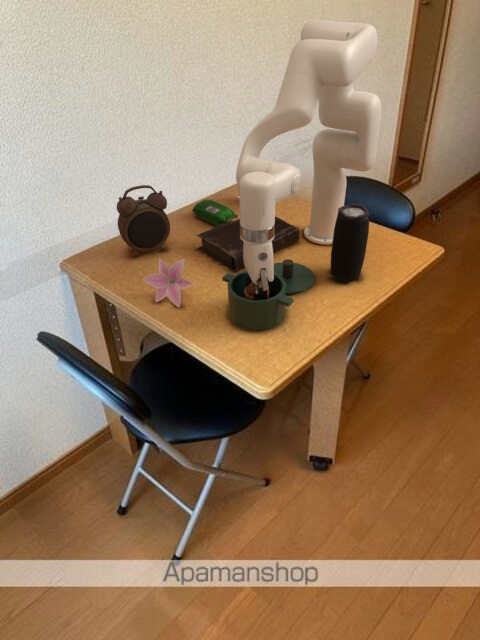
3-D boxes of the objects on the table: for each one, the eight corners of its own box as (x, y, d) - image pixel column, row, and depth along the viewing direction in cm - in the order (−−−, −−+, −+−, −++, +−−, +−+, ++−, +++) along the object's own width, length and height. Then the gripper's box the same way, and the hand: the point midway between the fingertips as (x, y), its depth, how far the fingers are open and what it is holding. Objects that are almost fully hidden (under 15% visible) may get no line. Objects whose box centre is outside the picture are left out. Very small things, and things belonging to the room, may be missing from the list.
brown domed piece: (262, 289, 123) (262, 273, 120) (273, 302, 118) (273, 286, 115) (240, 295, 121) (239, 279, 118) (250, 309, 116) (250, 292, 113)
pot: (241, 288, 131) (241, 260, 126) (304, 313, 122) (306, 284, 117) (209, 313, 123) (207, 285, 117) (273, 342, 114) (274, 313, 108)
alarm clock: (127, 262, 142) (115, 197, 130) (121, 250, 147) (109, 186, 135) (175, 251, 147) (168, 187, 134) (168, 240, 152) (160, 177, 139)
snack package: (223, 231, 156) (223, 216, 152) (190, 216, 164) (189, 201, 161) (239, 224, 160) (239, 209, 156) (206, 209, 168) (205, 195, 165)
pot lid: (278, 260, 142) (279, 242, 138) (324, 276, 135) (326, 258, 131) (249, 283, 133) (249, 265, 129) (296, 302, 126) (297, 283, 122)
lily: (142, 294, 131) (133, 277, 122) (172, 263, 134) (166, 245, 126) (175, 320, 128) (168, 306, 119) (205, 289, 131) (201, 272, 122)
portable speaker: (324, 281, 133) (331, 214, 121) (334, 264, 140) (342, 199, 128) (356, 288, 130) (366, 220, 118) (365, 270, 137) (375, 204, 125)
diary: (300, 243, 149) (301, 228, 146) (237, 274, 136) (236, 258, 133) (258, 222, 160) (258, 207, 157) (196, 248, 148) (195, 233, 144)
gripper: (285, 247, 102) (282, 316, 113) (262, 211, 115) (261, 276, 127) (250, 252, 101) (250, 321, 112) (231, 215, 114) (233, 280, 125)
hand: (256, 297), depth 119 cm, fingers closed on brown domed piece, 6 cm apart
